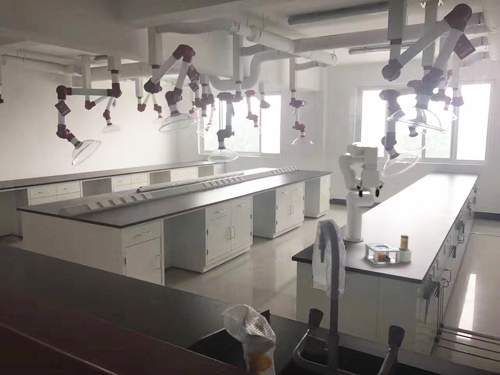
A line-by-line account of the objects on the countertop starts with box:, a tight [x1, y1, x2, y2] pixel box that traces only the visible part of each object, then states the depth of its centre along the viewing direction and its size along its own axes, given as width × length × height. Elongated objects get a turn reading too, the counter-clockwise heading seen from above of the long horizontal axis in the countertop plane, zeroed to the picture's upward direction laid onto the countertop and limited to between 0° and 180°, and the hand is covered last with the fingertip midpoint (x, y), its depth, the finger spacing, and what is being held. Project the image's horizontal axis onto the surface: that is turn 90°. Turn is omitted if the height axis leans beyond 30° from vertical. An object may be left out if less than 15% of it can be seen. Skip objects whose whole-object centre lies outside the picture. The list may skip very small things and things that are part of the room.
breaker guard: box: [364, 242, 401, 265], centre depth 218 cm, size 14×14×7 cm
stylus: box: [399, 234, 409, 251], centre depth 217 cm, size 4×4×13 cm
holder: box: [397, 247, 413, 263], centre depth 218 cm, size 7×7×6 cm
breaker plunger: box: [378, 253, 386, 258], centre depth 219 cm, size 5×5×3 cm
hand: (368, 197), depth 230 cm, fingers open, 9 cm apart
